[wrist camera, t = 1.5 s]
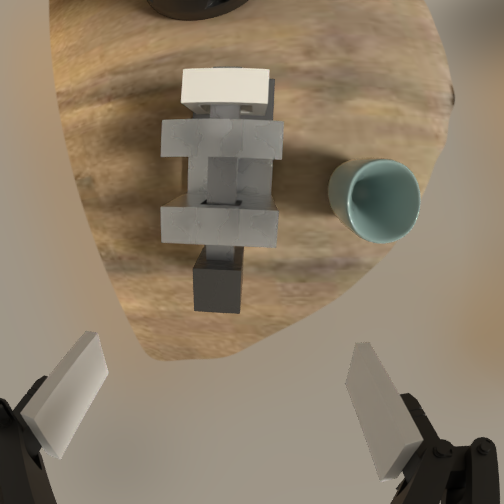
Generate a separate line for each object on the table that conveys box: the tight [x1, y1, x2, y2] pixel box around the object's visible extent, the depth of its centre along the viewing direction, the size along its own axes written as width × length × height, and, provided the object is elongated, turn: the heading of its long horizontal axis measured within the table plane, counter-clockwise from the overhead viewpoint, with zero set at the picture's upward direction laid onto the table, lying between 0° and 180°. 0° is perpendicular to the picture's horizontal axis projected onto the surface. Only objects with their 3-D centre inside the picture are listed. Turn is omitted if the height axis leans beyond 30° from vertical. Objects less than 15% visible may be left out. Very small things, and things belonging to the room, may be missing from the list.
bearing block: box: [161, 119, 284, 248], centre depth 28 cm, size 11×9×11 cm
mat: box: [193, 79, 275, 121], centre depth 30 cm, size 6×9×1 cm, turn 87°
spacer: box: [181, 68, 269, 116], centre depth 24 cm, size 3×7×7 cm, turn 87°
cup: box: [327, 157, 420, 243], centre depth 29 cm, size 8×8×10 cm
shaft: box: [193, 67, 244, 314], centre depth 26 cm, size 21×4×7 cm, turn 177°
